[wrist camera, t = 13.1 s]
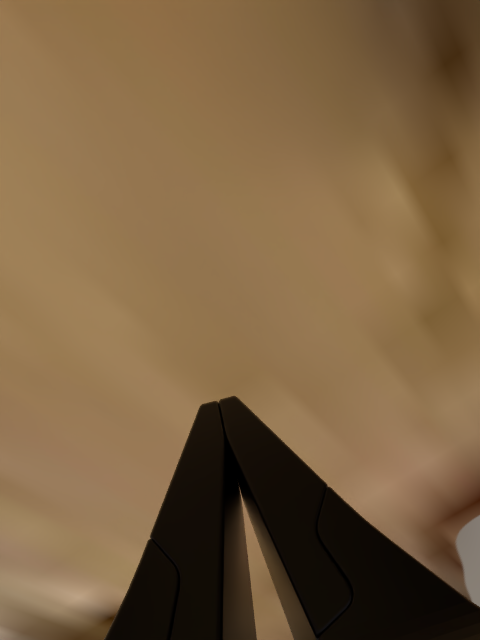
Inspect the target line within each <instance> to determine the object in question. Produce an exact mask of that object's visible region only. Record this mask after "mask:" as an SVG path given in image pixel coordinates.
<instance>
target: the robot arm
mask: <svg viewBox="0 0 480 640" xmlns="http://www.w3.org/2000/svg"><path fill="white" fill-rule="evenodd" d="M239 487H240V489H239ZM240 491H241V494H240ZM241 495H242V498H243V501H244V504H245V507H246V509H247V512H248V515H249V518H250V520H251V523H252V526H253V528H254V531H255V534H256V537H257V539H258V542H259V545H260V547H261V550H262V553H263V556H264V558H265V561H266V564H267V567H268V569H269V572H270V575H271V577H272V580H273V583H274V586H275V588H276V591H277V594H278V596H279V599H280V602H281V605H282V607H283V610H284V613H285V615H286V618H287V621H288V624H289V626H290V629H291V632H292V635H293V637H294V640H480V607H479V606H477V605H476V604H474V603H473V602H471V601H470V600H469V599H467V598H466V597H464V596H463V595H462V594H460V593H459V592H458V591H456V590H455V589H454V588H452V587H451V586H450V585H449V584H447V583H446V582H445V581H443V580H442V579H441V578H439V577H438V576H437V575H436V574H434V573H433V572H432V571H430V570H429V569H428V568H426V567H425V566H424V565H422V564H421V563H420V562H419V561H417V560H416V559H415V558H413V557H412V556H411V555H409V554H408V553H407V552H406V551H404V550H403V549H402V548H400V547H399V546H398V545H396V544H395V543H394V542H393V541H391V540H390V539H389V538H387V537H386V536H385V535H384V534H382V533H381V532H380V531H379V530H378V529H376V528H375V527H374V526H373V525H371V524H370V523H369V522H368V521H366V520H365V519H364V518H363V517H362V516H361V515H360V514H358V513H357V512H356V511H355V510H354V509H353V508H352V507H351V506H350V505H349V504H347V503H346V502H345V501H344V500H343V499H342V498H341V497H340V496H339V495H338V494H337V493H336V492H335V491H334V490H333V489H332V488H331V487H328V486H327V484H326V483H325V482H324V481H323V480H322V479H321V478H320V477H319V476H318V475H317V474H316V473H315V472H314V471H313V470H312V469H311V468H310V467H309V466H308V465H307V464H306V463H305V462H304V461H303V460H301V459H300V458H299V457H298V456H297V455H296V454H295V453H294V452H293V451H292V450H291V449H290V448H289V447H288V446H287V445H286V444H285V443H284V442H283V441H282V440H281V439H280V438H279V437H278V436H277V435H276V434H275V433H274V432H273V431H272V430H270V429H269V428H268V427H267V426H266V425H265V424H264V423H263V422H262V421H261V420H260V419H259V418H258V417H257V416H256V415H255V414H254V413H253V412H252V411H251V410H250V409H249V408H248V407H247V406H246V405H245V404H244V403H243V402H242V401H241V400H239V399H238V398H237V397H236V396H232V397H228V398H224V399H221V400H220V401H219V403H218V402H217V401H213V402H209V403H205V404H202V405H201V406H200V408H199V410H198V413H197V415H196V418H195V420H194V423H193V426H192V428H191V431H190V433H189V436H188V439H187V441H186V444H185V446H184V449H183V452H182V454H181V457H180V459H179V462H178V465H177V467H176V470H175V472H174V475H173V478H172V480H171V483H170V485H169V488H168V491H167V493H166V496H165V498H164V501H163V504H162V506H161V509H160V511H159V514H158V517H157V519H156V522H155V524H154V527H153V529H152V532H151V535H150V538H151V539H149V540H148V542H147V545H146V547H145V550H144V552H143V555H142V558H141V560H140V563H139V565H138V567H137V570H136V572H135V575H134V577H133V579H132V582H131V584H130V587H129V589H128V591H127V593H126V596H125V598H124V600H123V602H122V604H121V606H120V608H119V610H118V612H117V614H116V616H115V619H114V621H113V623H112V625H111V627H110V629H109V631H108V633H107V635H106V637H105V639H104V640H257V638H256V629H255V619H254V610H253V601H252V592H251V582H250V573H249V564H248V555H247V545H246V536H245V527H244V517H243V508H242V501H241Z"/></svg>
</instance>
